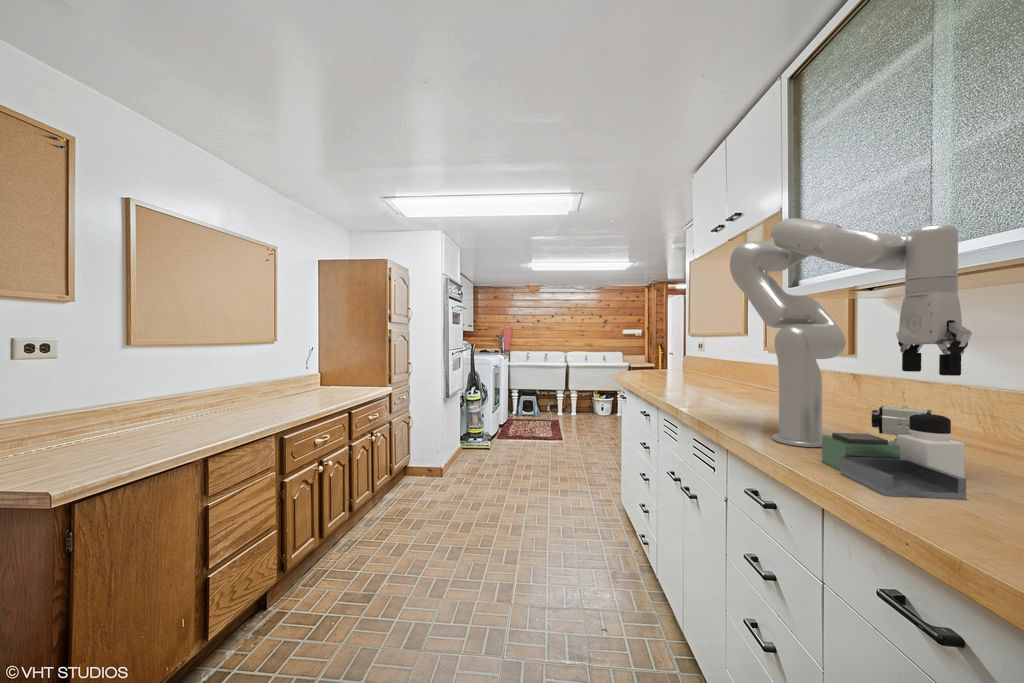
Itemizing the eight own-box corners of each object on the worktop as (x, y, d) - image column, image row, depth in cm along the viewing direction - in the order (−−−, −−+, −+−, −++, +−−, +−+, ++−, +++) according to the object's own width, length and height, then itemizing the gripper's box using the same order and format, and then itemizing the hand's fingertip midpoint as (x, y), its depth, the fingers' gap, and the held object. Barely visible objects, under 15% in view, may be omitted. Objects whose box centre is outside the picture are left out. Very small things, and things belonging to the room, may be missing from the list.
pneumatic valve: (874, 448, 106) (874, 400, 106) (940, 457, 98) (940, 405, 98) (870, 452, 102) (870, 402, 102) (939, 462, 94) (939, 408, 94)
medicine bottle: (965, 479, 82) (965, 418, 82) (927, 478, 83) (927, 417, 83) (931, 468, 89) (931, 412, 89) (896, 467, 90) (896, 411, 90)
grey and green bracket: (816, 461, 94) (816, 431, 94) (877, 464, 92) (877, 433, 92) (885, 495, 73) (885, 456, 73) (966, 499, 72) (966, 459, 72)
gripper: (880, 293, 94) (879, 369, 94) (944, 283, 77) (943, 376, 77) (919, 292, 93) (918, 370, 93) (993, 282, 76) (991, 377, 76)
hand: (929, 373), depth 85 cm, fingers open, 9 cm apart
